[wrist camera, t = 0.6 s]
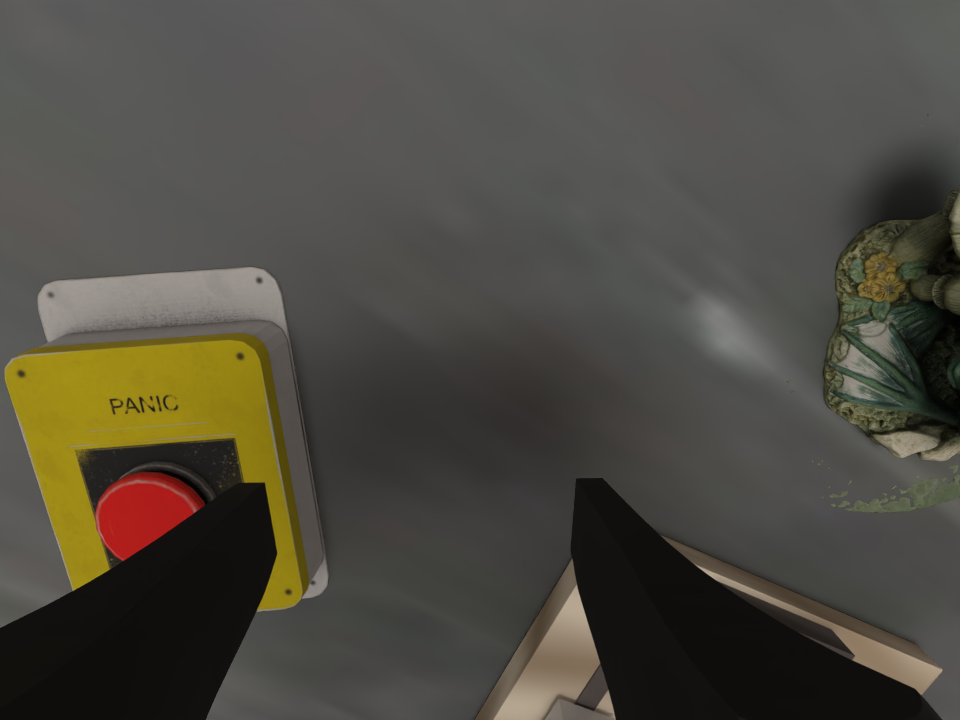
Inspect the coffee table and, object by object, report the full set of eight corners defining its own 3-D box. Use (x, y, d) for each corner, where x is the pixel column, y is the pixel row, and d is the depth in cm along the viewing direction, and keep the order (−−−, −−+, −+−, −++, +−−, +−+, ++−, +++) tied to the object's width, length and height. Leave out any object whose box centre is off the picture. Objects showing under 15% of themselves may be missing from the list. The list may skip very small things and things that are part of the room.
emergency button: (67, 684, 20) (-67, 296, 16) (135, 602, 24) (42, 279, 20) (309, 663, 20) (235, 275, 16) (335, 586, 25) (282, 263, 21)
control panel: (758, 833, 29) (791, 901, 26) (466, 733, 26) (467, 796, 24) (916, 644, 26) (973, 698, 23) (601, 509, 23) (621, 550, 20)
